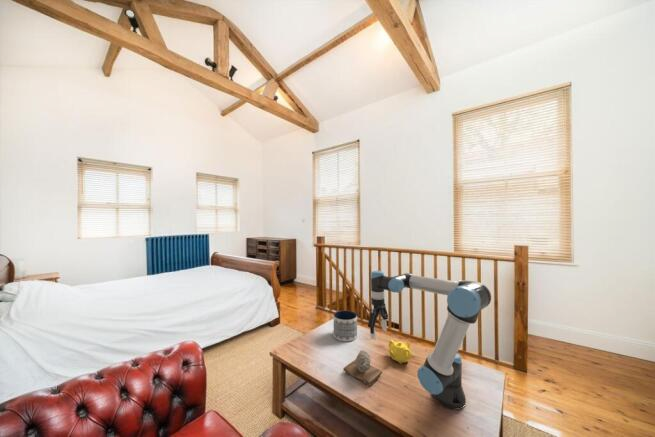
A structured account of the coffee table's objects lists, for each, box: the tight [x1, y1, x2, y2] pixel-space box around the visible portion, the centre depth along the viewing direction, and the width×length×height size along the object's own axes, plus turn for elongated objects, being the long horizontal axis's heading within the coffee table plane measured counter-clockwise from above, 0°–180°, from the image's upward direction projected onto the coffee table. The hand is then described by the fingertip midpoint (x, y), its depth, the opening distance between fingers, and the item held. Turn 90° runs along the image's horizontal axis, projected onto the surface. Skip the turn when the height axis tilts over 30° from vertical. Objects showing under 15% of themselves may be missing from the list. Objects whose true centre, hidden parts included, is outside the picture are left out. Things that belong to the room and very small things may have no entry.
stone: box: [355, 349, 371, 372], centre depth 137 cm, size 9×14×10 cm, turn 162°
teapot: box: [387, 339, 413, 365], centre depth 153 cm, size 20×18×11 cm
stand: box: [343, 358, 383, 387], centre depth 138 cm, size 18×13×3 cm
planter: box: [333, 310, 358, 343], centre depth 184 cm, size 18×18×16 cm
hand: (378, 334), depth 139 cm, fingers open, 13 cm apart
